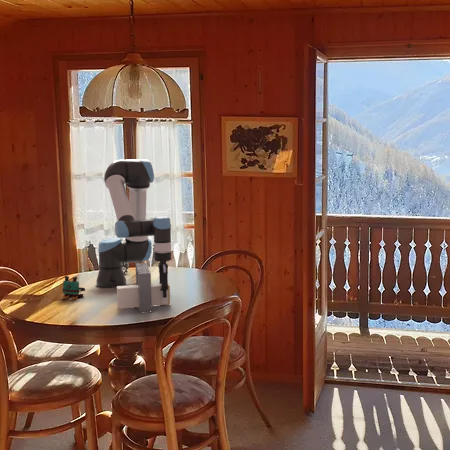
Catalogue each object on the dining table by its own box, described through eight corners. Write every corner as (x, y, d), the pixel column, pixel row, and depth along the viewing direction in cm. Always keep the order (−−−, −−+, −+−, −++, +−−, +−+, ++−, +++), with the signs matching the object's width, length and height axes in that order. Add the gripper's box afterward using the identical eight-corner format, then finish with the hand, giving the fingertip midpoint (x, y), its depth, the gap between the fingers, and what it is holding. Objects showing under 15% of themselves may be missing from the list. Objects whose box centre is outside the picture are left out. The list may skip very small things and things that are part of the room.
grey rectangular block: (117, 308, 274) (117, 288, 272) (117, 305, 278) (116, 286, 277) (170, 305, 278) (169, 285, 277) (168, 302, 283) (168, 283, 282)
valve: (104, 273, 349) (120, 275, 342) (104, 261, 348) (119, 264, 341) (113, 271, 354) (128, 273, 347) (113, 259, 353) (128, 262, 346)
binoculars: (88, 275, 297) (75, 277, 288) (87, 297, 298) (75, 300, 288) (72, 274, 301) (59, 276, 291) (71, 295, 301) (59, 298, 292)
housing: (140, 313, 266) (138, 273, 264) (136, 299, 290) (135, 263, 287) (151, 312, 267) (150, 273, 265) (147, 298, 291) (146, 262, 288)
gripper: (152, 248, 285) (153, 298, 288) (156, 255, 267) (157, 308, 271) (168, 247, 286) (170, 297, 290) (173, 254, 269) (174, 307, 272)
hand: (164, 302), depth 280 cm, fingers closed on grey rectangular block, 5 cm apart
